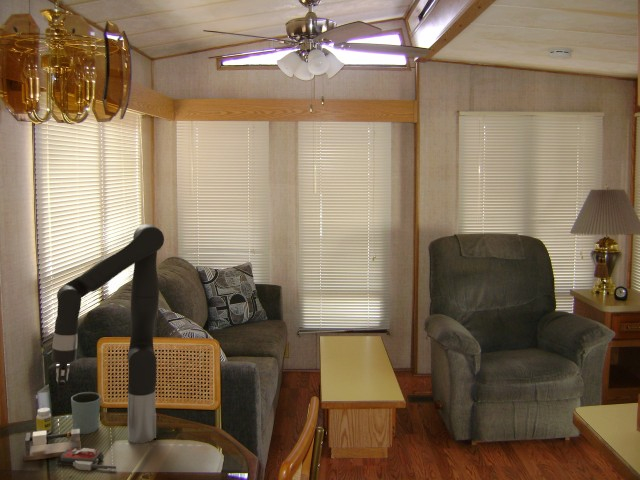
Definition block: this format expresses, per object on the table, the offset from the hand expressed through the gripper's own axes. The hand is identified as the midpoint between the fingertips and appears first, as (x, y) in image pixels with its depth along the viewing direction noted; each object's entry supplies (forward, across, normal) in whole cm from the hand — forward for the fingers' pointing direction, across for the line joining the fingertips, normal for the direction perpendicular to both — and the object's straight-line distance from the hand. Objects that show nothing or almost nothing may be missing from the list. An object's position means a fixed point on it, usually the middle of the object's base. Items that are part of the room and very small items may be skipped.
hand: (60, 394), depth 206 cm
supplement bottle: (+20, +16, +4) cm, 26 cm away
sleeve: (+16, -1, +5) cm, 17 cm away
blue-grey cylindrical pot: (+19, +15, -10) cm, 26 cm away
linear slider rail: (+20, -1, +1) cm, 20 cm away
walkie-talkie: (+19, -12, -10) cm, 25 cm away
